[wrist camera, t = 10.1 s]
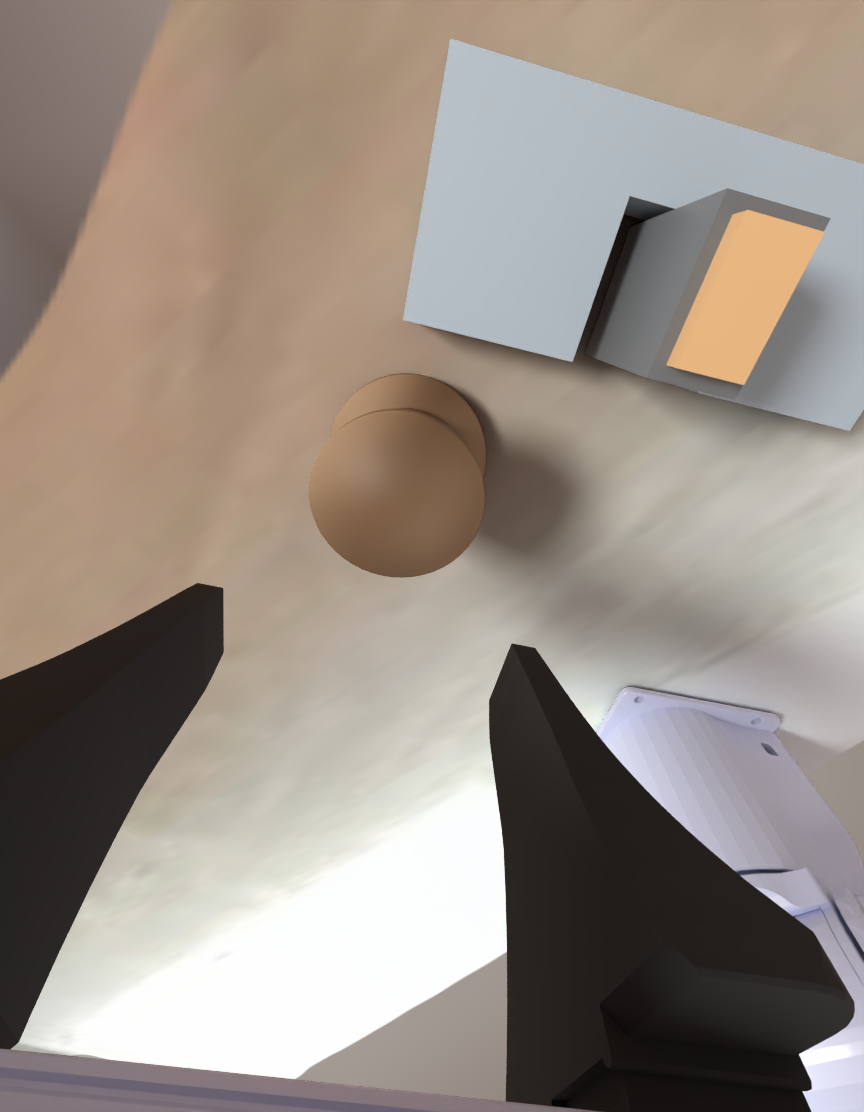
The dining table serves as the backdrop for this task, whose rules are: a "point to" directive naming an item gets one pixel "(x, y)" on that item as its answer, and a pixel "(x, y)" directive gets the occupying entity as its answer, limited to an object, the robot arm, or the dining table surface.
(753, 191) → the board
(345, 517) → the tan wooden yo-yo
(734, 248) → the grey rectangular block
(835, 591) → the dining table surface
